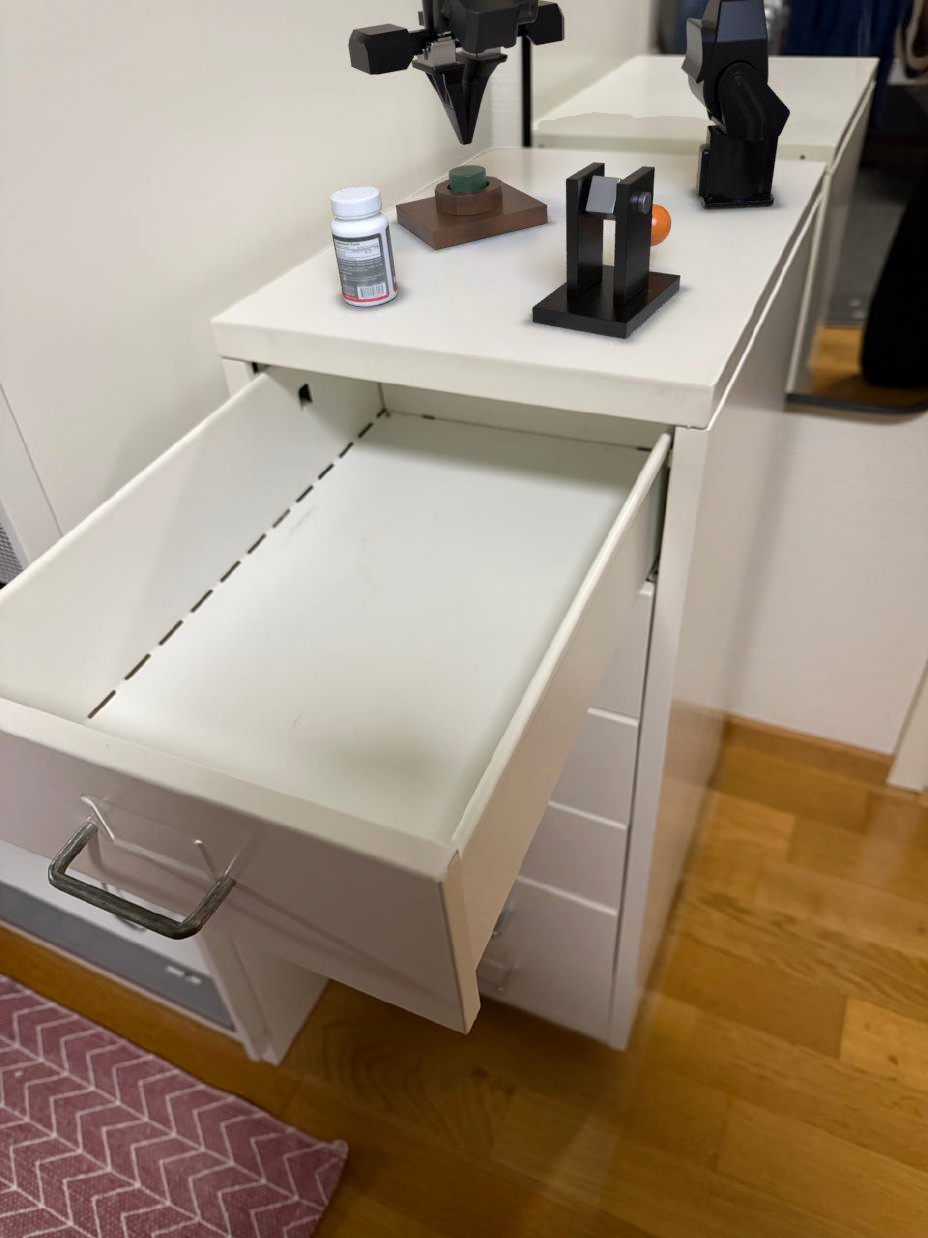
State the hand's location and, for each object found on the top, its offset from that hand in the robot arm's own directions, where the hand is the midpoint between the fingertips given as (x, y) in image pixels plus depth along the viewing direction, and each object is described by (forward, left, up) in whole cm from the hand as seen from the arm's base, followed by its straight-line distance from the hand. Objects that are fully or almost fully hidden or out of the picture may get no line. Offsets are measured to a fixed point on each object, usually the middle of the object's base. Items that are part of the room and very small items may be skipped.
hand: (465, 143), depth 83 cm
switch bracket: (-13, +22, -7) cm, 26 cm away
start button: (0, 0, -4) cm, 4 cm away
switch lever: (-14, +19, -3) cm, 24 cm away
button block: (0, 0, -7) cm, 7 cm away
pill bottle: (+7, +18, -7) cm, 21 cm away
